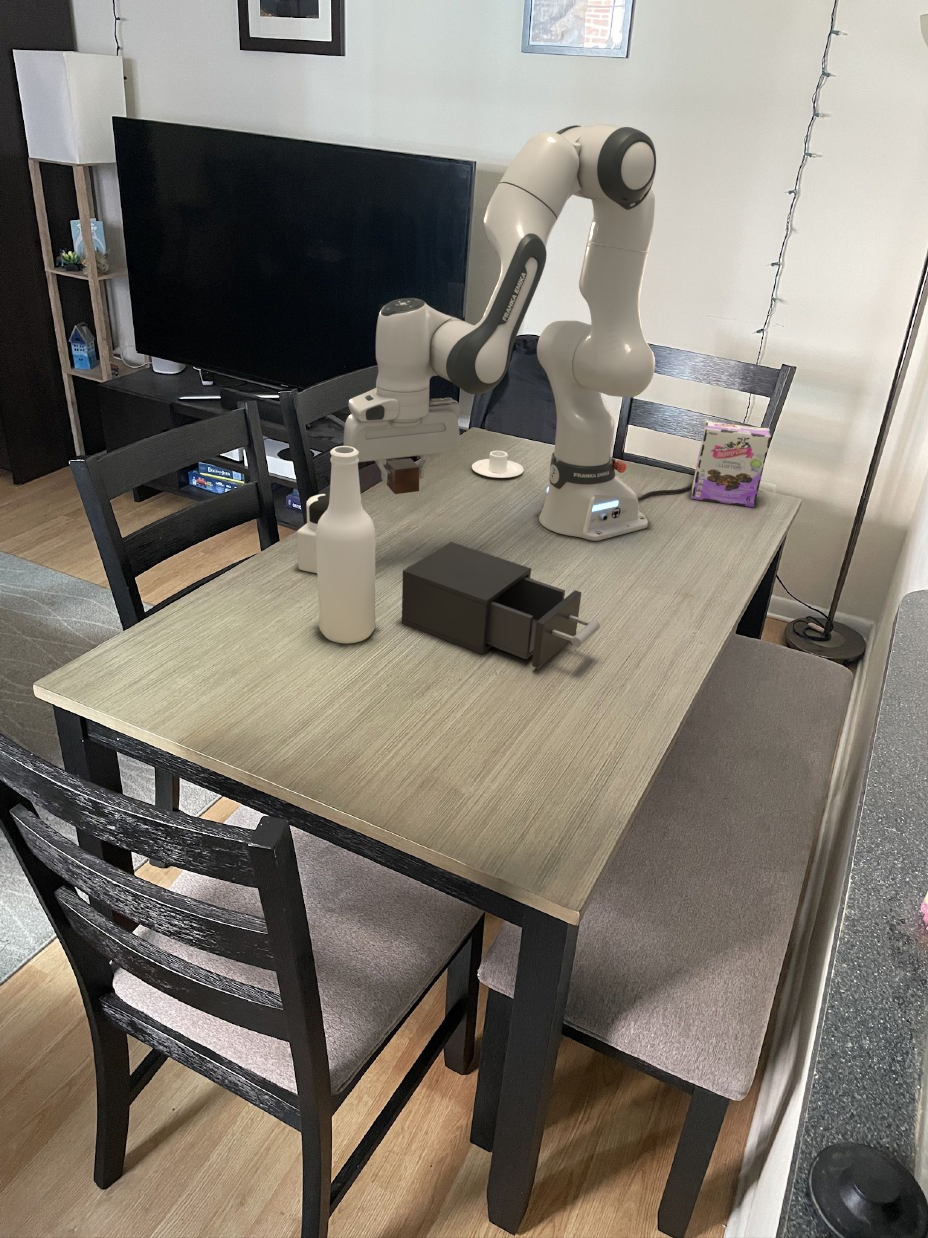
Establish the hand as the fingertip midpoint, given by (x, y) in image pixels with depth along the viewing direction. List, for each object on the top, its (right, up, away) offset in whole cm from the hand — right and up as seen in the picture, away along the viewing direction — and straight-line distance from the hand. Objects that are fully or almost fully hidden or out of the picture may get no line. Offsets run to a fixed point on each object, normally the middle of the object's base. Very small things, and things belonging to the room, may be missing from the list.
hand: (402, 479), depth 156 cm
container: (-14, -15, +5) cm, 21 cm away
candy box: (+68, +2, +43) cm, 81 cm away
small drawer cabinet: (+11, -25, -10) cm, 29 cm away
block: (0, -1, +1) cm, 2 cm away
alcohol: (-8, -27, -14) cm, 31 cm away
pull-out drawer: (+21, -28, -16) cm, 39 cm away
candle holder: (+19, +10, +50) cm, 55 cm away
